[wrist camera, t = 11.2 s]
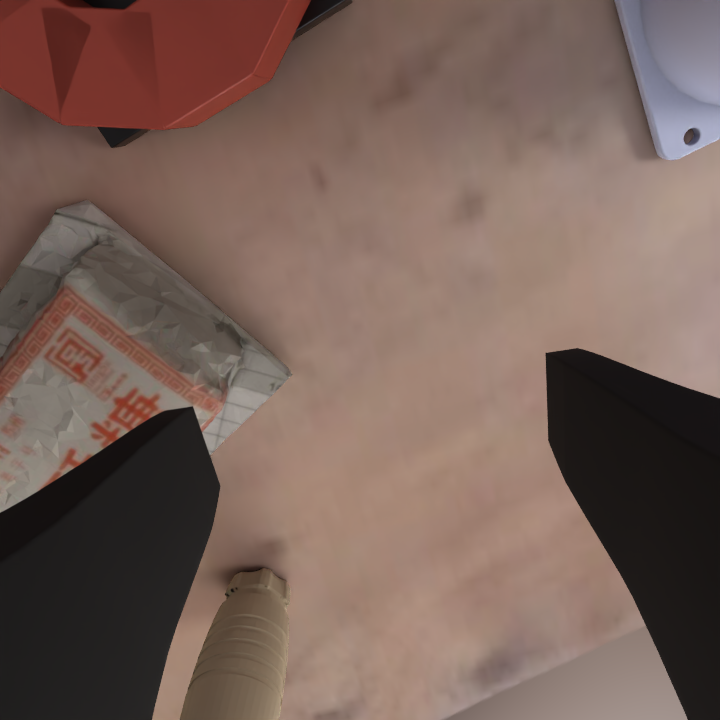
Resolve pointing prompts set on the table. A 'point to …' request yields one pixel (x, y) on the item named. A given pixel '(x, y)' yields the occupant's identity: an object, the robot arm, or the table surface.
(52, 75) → the ring
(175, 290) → the packaged product
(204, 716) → the handle
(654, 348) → the table surface
